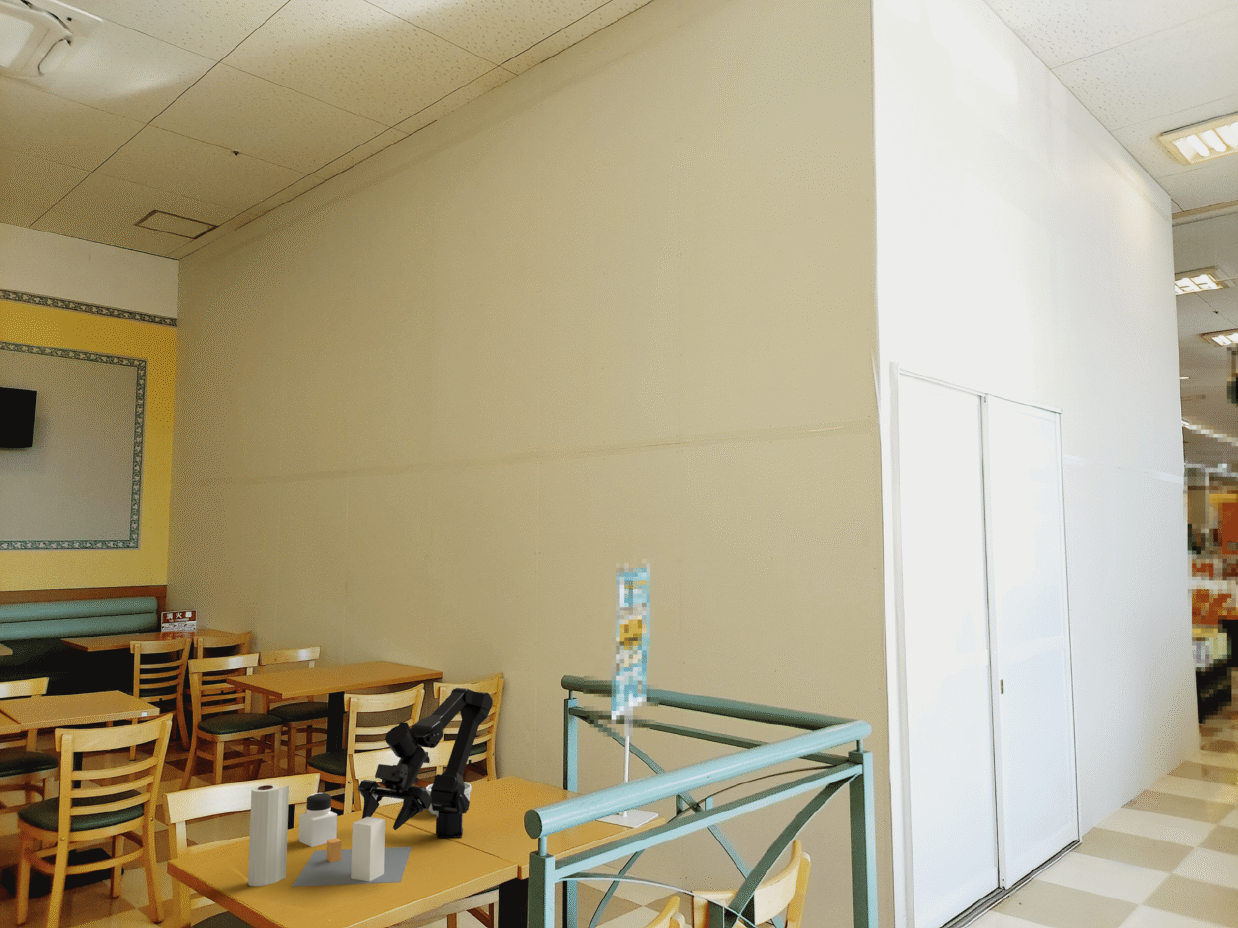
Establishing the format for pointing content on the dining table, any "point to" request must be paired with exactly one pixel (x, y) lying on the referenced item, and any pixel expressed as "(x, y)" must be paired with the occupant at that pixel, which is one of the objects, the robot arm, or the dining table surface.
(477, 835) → the dining table surface
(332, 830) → the medicine bottle
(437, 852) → the dining table surface
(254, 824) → the paper towel roll
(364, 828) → the tall white pillar
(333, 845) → the orange block
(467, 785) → the ramekin
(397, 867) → the mat
